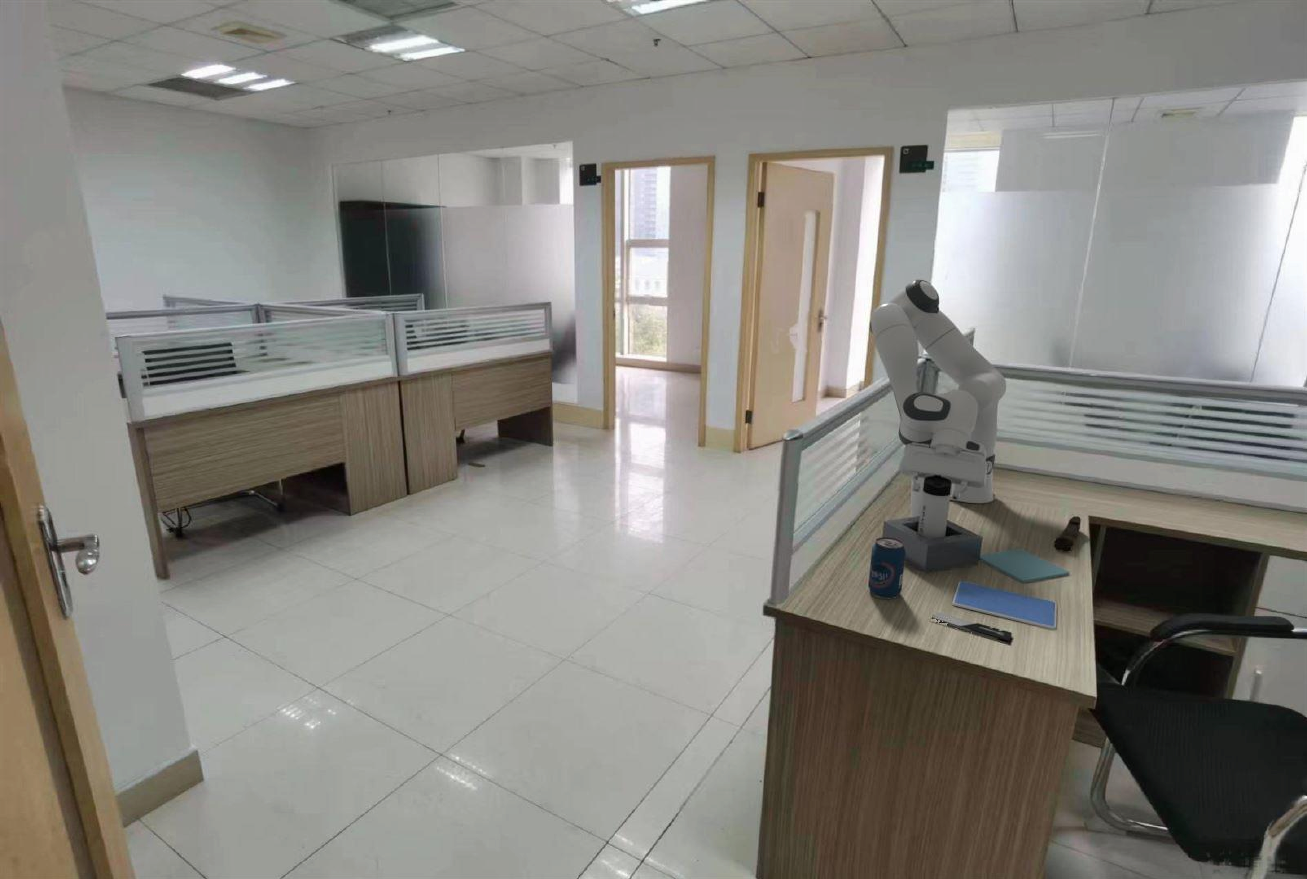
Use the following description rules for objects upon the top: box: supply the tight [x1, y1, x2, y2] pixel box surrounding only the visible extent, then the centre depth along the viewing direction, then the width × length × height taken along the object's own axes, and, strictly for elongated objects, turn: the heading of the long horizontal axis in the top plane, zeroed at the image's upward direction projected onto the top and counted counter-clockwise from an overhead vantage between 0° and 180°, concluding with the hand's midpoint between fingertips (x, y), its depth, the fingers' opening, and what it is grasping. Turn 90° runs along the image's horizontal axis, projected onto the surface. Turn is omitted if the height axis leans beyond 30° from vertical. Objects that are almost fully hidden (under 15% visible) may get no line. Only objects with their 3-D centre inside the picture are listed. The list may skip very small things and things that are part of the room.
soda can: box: [868, 537, 906, 599], centre depth 148 cm, size 7×7×12 cm
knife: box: [930, 611, 1014, 646], centre depth 136 cm, size 15×1×4 cm
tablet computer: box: [952, 580, 1058, 631], centre depth 145 cm, size 19×13×1 cm, turn 60°
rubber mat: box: [979, 548, 1070, 584], centre depth 163 cm, size 14×14×1 cm
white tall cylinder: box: [909, 477, 925, 518], centre depth 190 cm, size 7×7×15 cm
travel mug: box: [918, 475, 952, 539], centre depth 166 cm, size 6×7×20 cm
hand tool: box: [1053, 516, 1082, 553], centre depth 178 cm, size 19×4×5 cm, turn 138°
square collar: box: [881, 516, 983, 574], centre depth 168 cm, size 16×16×7 cm
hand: (935, 494), depth 168 cm, fingers open, 8 cm apart
